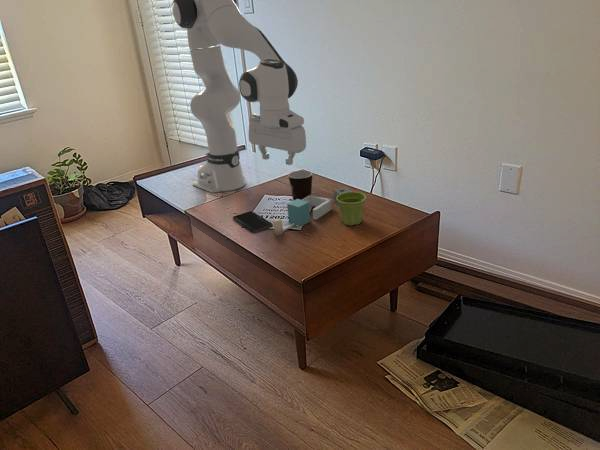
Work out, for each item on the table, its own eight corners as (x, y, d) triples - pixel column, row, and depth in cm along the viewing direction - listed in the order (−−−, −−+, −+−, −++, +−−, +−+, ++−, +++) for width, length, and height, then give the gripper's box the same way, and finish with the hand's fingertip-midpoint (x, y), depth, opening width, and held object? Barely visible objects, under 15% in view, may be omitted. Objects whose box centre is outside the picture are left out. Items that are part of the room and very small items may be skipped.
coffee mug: (311, 205, 173) (310, 178, 168) (288, 204, 174) (285, 178, 170) (317, 192, 183) (315, 167, 179) (294, 192, 185) (292, 167, 180)
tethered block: (269, 233, 154) (267, 213, 151) (299, 218, 163) (297, 198, 160) (281, 237, 151) (279, 216, 148) (310, 221, 160) (309, 201, 157)
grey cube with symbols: (334, 202, 173) (333, 189, 171) (346, 200, 175) (346, 187, 173) (340, 207, 169) (339, 194, 167) (353, 204, 171) (352, 191, 169)
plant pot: (358, 230, 152) (358, 204, 148) (332, 225, 157) (331, 200, 153) (371, 218, 159) (371, 194, 155) (345, 214, 164) (344, 190, 160)
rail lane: (293, 214, 166) (292, 204, 165) (310, 204, 174) (309, 194, 172) (316, 219, 161) (315, 209, 160) (332, 208, 168) (332, 199, 167)
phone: (252, 231, 155) (231, 216, 166) (253, 234, 155) (232, 219, 167) (274, 224, 159) (251, 210, 170) (274, 227, 159) (252, 213, 170)
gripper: (242, 115, 148) (245, 158, 154) (295, 124, 137) (296, 170, 143) (256, 111, 153) (258, 153, 159) (308, 119, 141) (309, 164, 148)
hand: (277, 161), depth 151 cm, fingers open, 8 cm apart
